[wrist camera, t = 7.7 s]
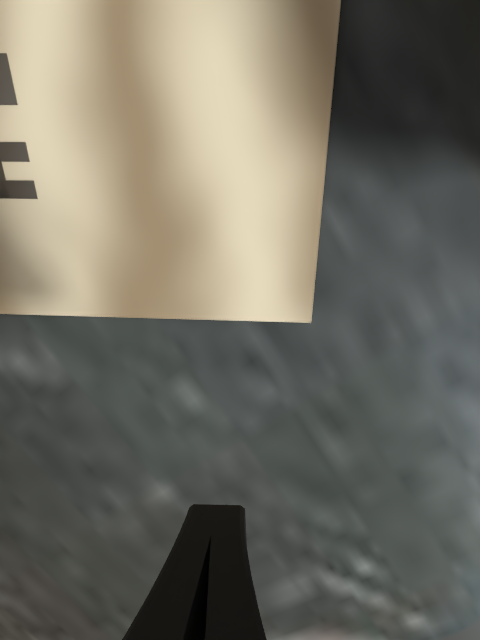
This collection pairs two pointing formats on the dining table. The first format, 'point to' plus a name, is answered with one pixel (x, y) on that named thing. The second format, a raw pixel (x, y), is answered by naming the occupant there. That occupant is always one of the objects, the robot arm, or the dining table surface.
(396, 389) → the dining table surface
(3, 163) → the board
